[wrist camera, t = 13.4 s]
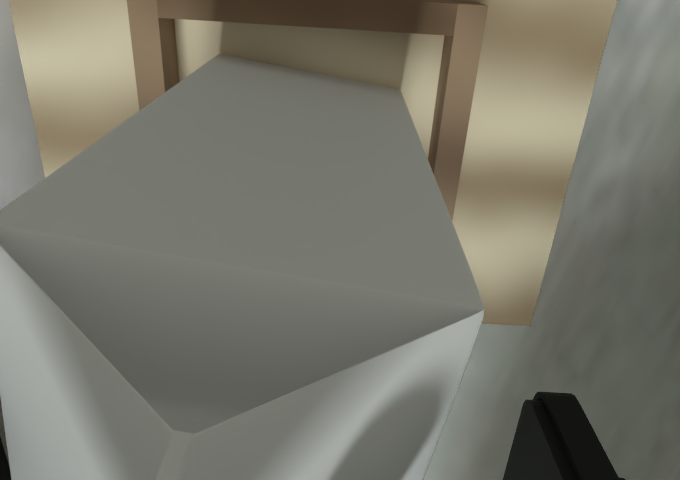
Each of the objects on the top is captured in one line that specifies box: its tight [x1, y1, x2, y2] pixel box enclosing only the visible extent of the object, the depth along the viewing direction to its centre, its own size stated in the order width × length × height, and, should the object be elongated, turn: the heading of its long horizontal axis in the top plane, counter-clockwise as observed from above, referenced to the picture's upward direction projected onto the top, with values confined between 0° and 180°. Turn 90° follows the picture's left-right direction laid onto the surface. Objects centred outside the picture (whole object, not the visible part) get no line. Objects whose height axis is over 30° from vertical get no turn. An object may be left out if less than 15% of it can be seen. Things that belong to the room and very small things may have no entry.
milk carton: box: [0, 54, 484, 480], centre depth 14 cm, size 7×7×19 cm
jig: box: [9, 0, 617, 326], centre depth 22 cm, size 16×22×3 cm
